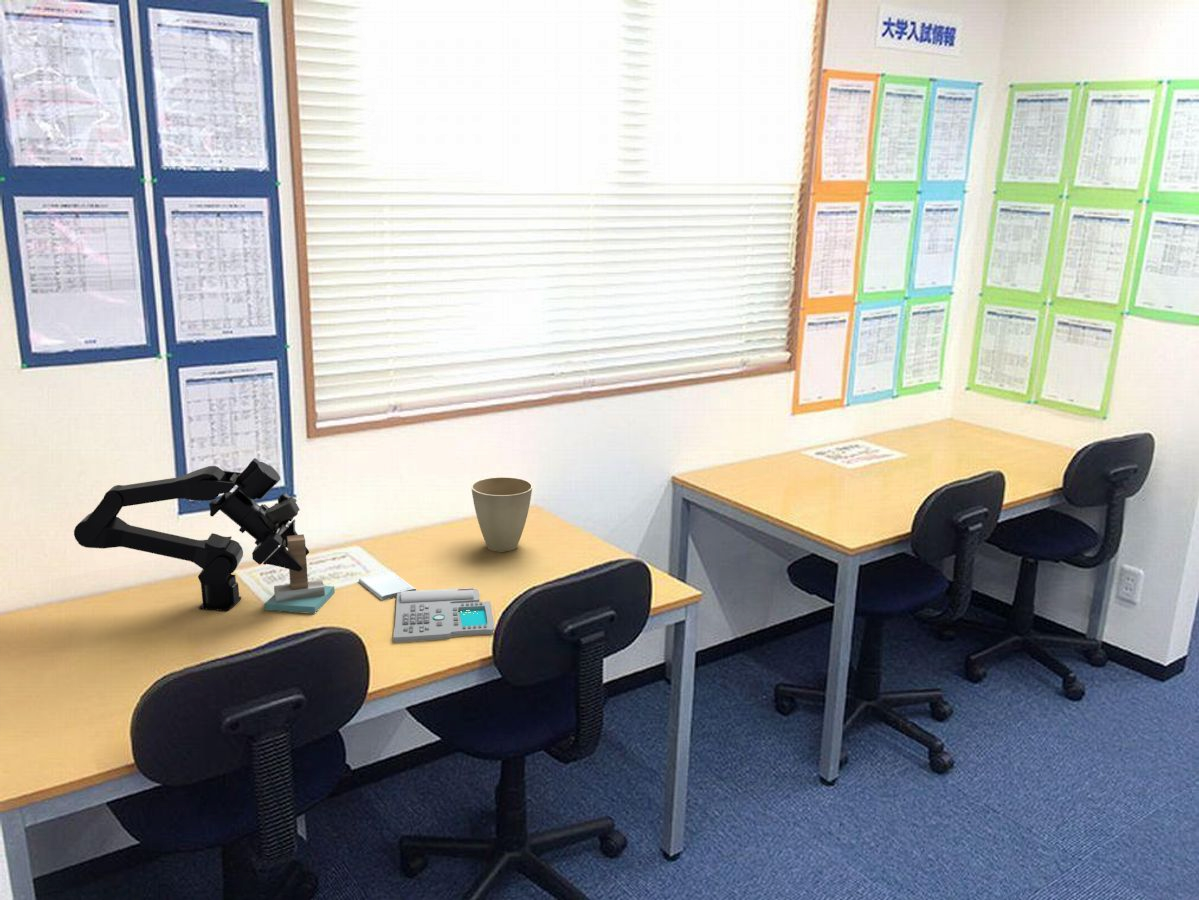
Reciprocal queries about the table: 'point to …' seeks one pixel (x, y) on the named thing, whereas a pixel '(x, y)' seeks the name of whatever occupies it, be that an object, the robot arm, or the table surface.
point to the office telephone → (441, 614)
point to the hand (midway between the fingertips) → (304, 561)
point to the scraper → (298, 575)
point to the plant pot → (501, 510)
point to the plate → (300, 602)
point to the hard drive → (385, 585)
